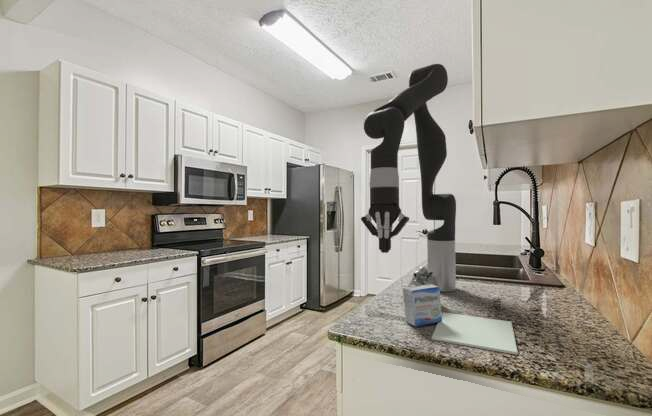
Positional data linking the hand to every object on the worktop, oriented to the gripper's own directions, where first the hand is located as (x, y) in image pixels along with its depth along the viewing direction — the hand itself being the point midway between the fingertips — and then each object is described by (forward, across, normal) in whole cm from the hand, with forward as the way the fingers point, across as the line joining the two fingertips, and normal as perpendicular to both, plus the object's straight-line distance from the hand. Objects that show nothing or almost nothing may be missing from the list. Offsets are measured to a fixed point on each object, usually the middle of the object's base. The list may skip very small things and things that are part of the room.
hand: (384, 252), depth 82 cm
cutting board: (+17, -21, 0) cm, 27 cm away
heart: (+17, -6, -16) cm, 25 cm away
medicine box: (+17, -10, 0) cm, 20 cm away
